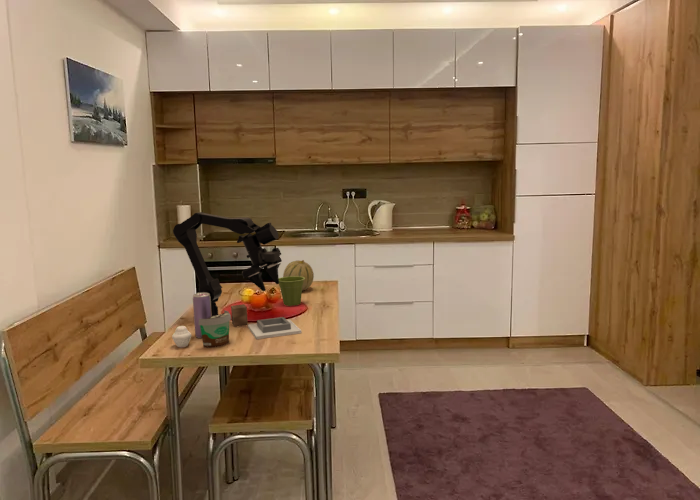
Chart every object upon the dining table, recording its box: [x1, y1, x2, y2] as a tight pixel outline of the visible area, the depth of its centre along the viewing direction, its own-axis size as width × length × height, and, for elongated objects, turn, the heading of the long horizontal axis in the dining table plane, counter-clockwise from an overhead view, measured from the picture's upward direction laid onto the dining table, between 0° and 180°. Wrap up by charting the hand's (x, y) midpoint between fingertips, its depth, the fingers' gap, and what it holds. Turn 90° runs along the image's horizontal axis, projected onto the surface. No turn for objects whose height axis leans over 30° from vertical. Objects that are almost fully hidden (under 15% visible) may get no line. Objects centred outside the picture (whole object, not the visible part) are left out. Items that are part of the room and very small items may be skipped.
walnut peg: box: [230, 303, 249, 328], centre depth 199 cm, size 5×5×7 cm
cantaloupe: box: [282, 259, 315, 292], centre depth 253 cm, size 15×15×15 cm
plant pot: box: [278, 276, 305, 307], centre depth 228 cm, size 12×12×11 cm
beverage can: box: [192, 292, 212, 339], centre depth 185 cm, size 6×6×15 cm
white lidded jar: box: [171, 325, 192, 348], centre depth 176 cm, size 6×6×7 cm
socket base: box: [247, 316, 303, 340], centre depth 191 cm, size 16×16×3 cm
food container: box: [198, 309, 232, 349], centre depth 176 cm, size 12×6×10 cm, turn 148°
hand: (271, 287), depth 200 cm, fingers open, 9 cm apart
